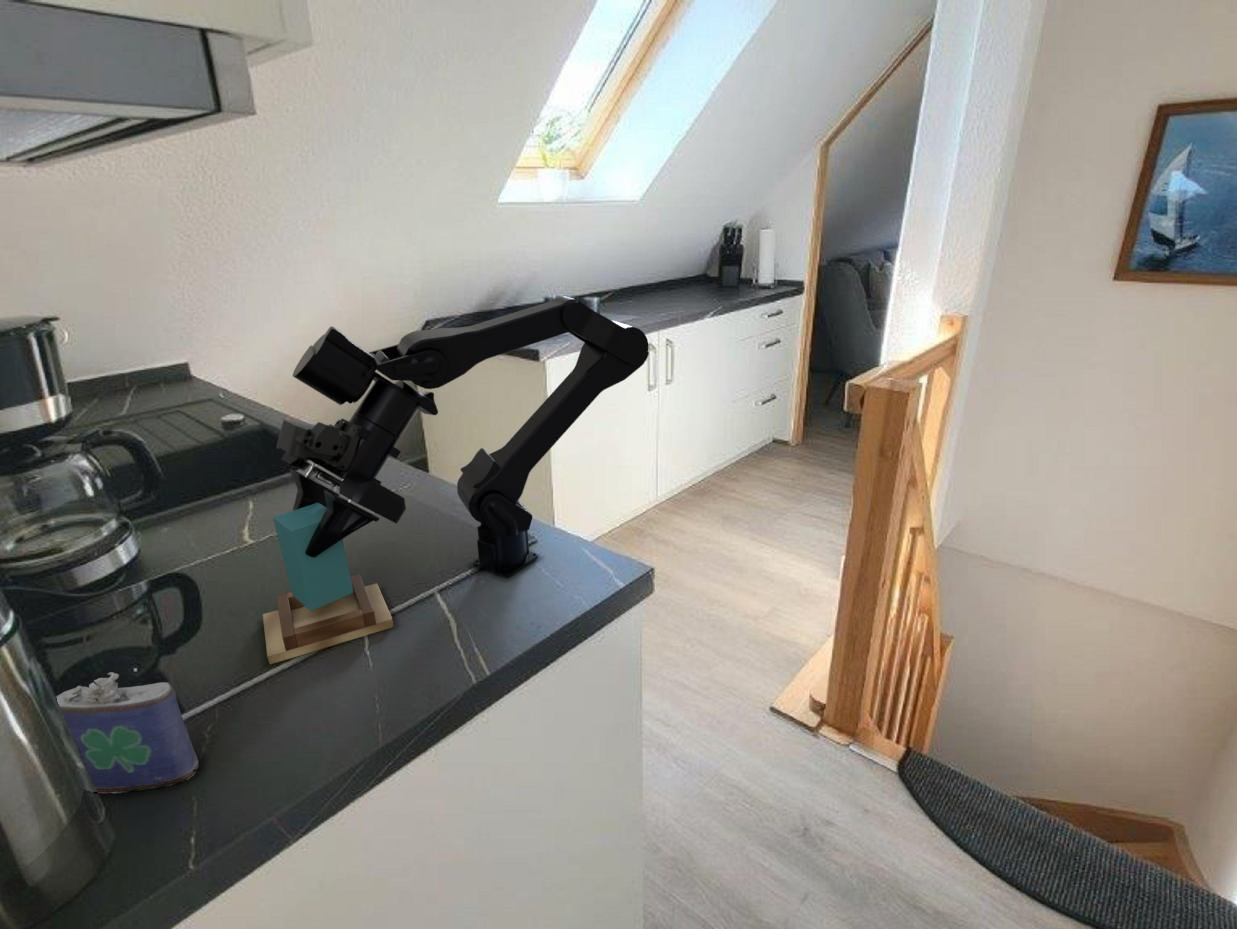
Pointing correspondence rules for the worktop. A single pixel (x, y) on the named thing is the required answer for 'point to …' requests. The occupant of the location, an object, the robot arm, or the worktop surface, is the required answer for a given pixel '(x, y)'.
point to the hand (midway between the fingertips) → (298, 547)
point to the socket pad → (324, 622)
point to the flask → (129, 734)
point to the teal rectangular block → (312, 559)
